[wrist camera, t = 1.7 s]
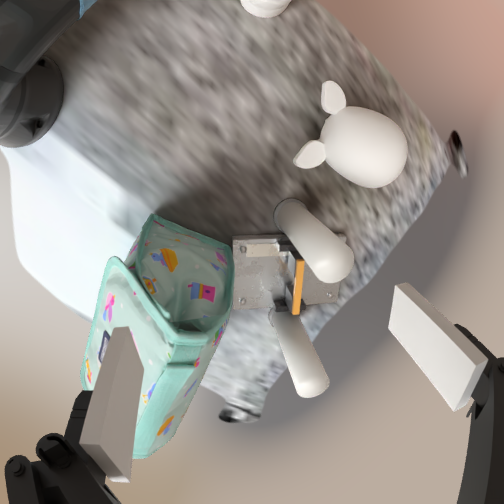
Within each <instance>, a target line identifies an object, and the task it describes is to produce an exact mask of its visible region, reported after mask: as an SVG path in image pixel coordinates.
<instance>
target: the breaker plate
mask: <svg viewBox="0 0 504 504" xmlns="http://www.w3.org/2000/svg"><path fill="white" fill-rule="evenodd" d="M334 234H335V235H336V236H337V237H338V238H340V239H341V240H342V241H343V242H344V243H345V244H346V236H345V235H343V234H342V233H334ZM290 251H298V250H297V249H296V247H295V246H294V245H293V243H292V242H291V241H290V239H289V238H288V237H287V235H286V234H271V235H236V236H232V255H233V259H234V263H235V280H234V289H233V300H232V304H233V310H238V309H255V308H271V307H274V310H275V312H286V311H290V310H289V308H288V306H287V304H286V302H285V296H286V286H289V285H294V280H295V278H294V277H293V275H292V274H291V272H290V270H289V269H288V256H289V252H290ZM339 286H340V281H338V282H335V283H325V282H323V281H321V280H319V279H318V278H317V276H316V275H315V274H314V272H313V271H312V269H311V268H310V267H309V265H308V264H307V263H306V261H305V263H304V273H303V283H302V293H301V303H300V310H305V308H306V305H310V304H321V303H332V302H337V299H338V293H339Z"/></svg>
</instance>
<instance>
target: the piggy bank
mask: <svg viewBox="0 0 504 504" xmlns="http://www.w3.org/2000/svg"><path fill="white" fill-rule="evenodd" d="M321 104H322V108H323V109H324V111H325V112H327V113H329V114H331V115H330V116H329V117H328V118H327V119H325V124H324V126H323V128H322V131H321V134H320V139H318V140H317V141H316V140H311V141H308V142H307V143H306V144H305V145H304V146H303V147H302V148H301V149H300V151H299V152H298V153H297V155H296V156H295V157H294V159H293V162H294V164H295V165H296V166H298V167H300V168H304V169H309V168H314V167H316V166H318V165H320V164H321V163H322V162H323V161H324V160H326V162H327V163H328V164H329V165H330V166H331V167H332V168H333V169H334V170H335V171H336V172H338V173H339V174H340V175H342V176H343V177H345V178H346V179H348V180H349V181H351V182H353V183H355V184H357V185H360V186H363V187H367V188H379V187H383V186H386V185H388V184H389V183H391V182H392V181H394V180H395V179H396V178H397V177H398V176H399V174H400V173H401V172H402V170H403V168H404V166H405V163H406V160H407V153H408V147H407V141H406V138H405V135H404V133H403V131H402V130H401V129H400V127H399V126H398V125H397V124H396V123H395V122H394V121H393V120H391V119H390V118H388V117H386V116H385V115H383V114H381V113H378V112H376V111H373V110H370V109H366V108H362V107H355V106H348V107H346V98H345V95H344V92H343V91H342V89H341V88H340V86H339V85H338V84H337V83H335V82H334V81H326V82H324V83H323V84H322V94H321Z"/></svg>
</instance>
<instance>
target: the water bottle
mask: <svg viewBox="0 0 504 504" xmlns="http://www.w3.org/2000/svg"><path fill="white" fill-rule="evenodd" d="M240 1H241V4H242V6H243V7H244V8H245V9H246V10H247V11H248V12H249V13H251V14H252V15H255V16H258V17H263V18H270V17H274V16H277V15H279V14H281V13H282V12H283V11H284V10H285V9H286V8H287V6H288V4H289V3H290V2H291V1H292V0H240Z"/></svg>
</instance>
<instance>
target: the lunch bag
mask: <svg viewBox="0 0 504 504" xmlns="http://www.w3.org/2000/svg"><path fill="white" fill-rule="evenodd" d="M234 280H235V263H234V259H233V255H232V251H231V247H230V246H229V245H227V244H224V243H222V242H219V241H217V240H215V239H212V238H210V237H207V236H205V235H202V234H200V233H197V232H195V231H191V230H188V229H186V228H184V227H182V226H180V225H178V224H175V223H173V222H171V221H168V220H165V219H163V218H162V217H160V216H158V215H155V214H150V216H149V218H148V220H147V221H146V222H145V224H144V225H143V227H142V231H141V233H140V234H139V236H138V237H137V239H136V241H135V242H134V244H133V246H132V247H131V249H130V251H129V253H128V256H127V258H126V260H125V262H124V263H123V262H122V261H121V260H120V259H119V258H118V257H116V256H114V257H111V258H110V259H109V260H108V262H107V265H106V267H105V271H104V275H103V279H102V283H101V287H100V291H99V295H98V299H97V305H96V310H95V314H94V318H93V322H92V326H91V331H90V335H89V338H88V342H87V346H86V352H85V356H84V360H83V363H82V368H81V372H80V376H81V382H82V386H83V389H84V390H94V386H95V383H96V380H97V377H98V373H99V370H100V367H101V364H102V361H103V358H104V355H105V352H106V349H107V346H108V343H109V340H110V337H111V334H112V331H113V329H114V328H115V327H126V326H129V329H130V331H131V334H132V337H133V340H134V343H135V346H136V348H137V351H138V354H139V357H140V359H141V362H142V364H143V367H144V375H143V381H142V388H141V394H140V401H139V408H138V415H137V423H136V431H135V439H134V448H133V457H132V458H136V459H137V458H138V459H140V458H147V457H149V456H150V455H152V454H153V453H154V452H155V451H157V450H158V449H159V448H161V447H162V446H163V445H165V444H166V443H167V442H168V441H169V440H170V439H171V438H172V437H173V436H174V434H175V433H176V430H177V428H178V426H179V424H180V423H181V421H182V418H183V417H184V415H185V413H186V411H187V409H188V407H189V405H190V403H191V401H192V399H193V397H194V395H195V393H196V391H197V388H198V387H199V385H200V383H201V381H202V379H203V376H204V374H205V372H206V369H207V367H208V365H209V363H210V361H211V359H212V357H213V355H214V353H215V351H216V349H217V347H218V344H219V342H220V340H221V338H222V336H223V334H224V331H225V329H226V326H227V324H228V320H229V316H230V310H231V307H232V300H233V289H234Z"/></svg>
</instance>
